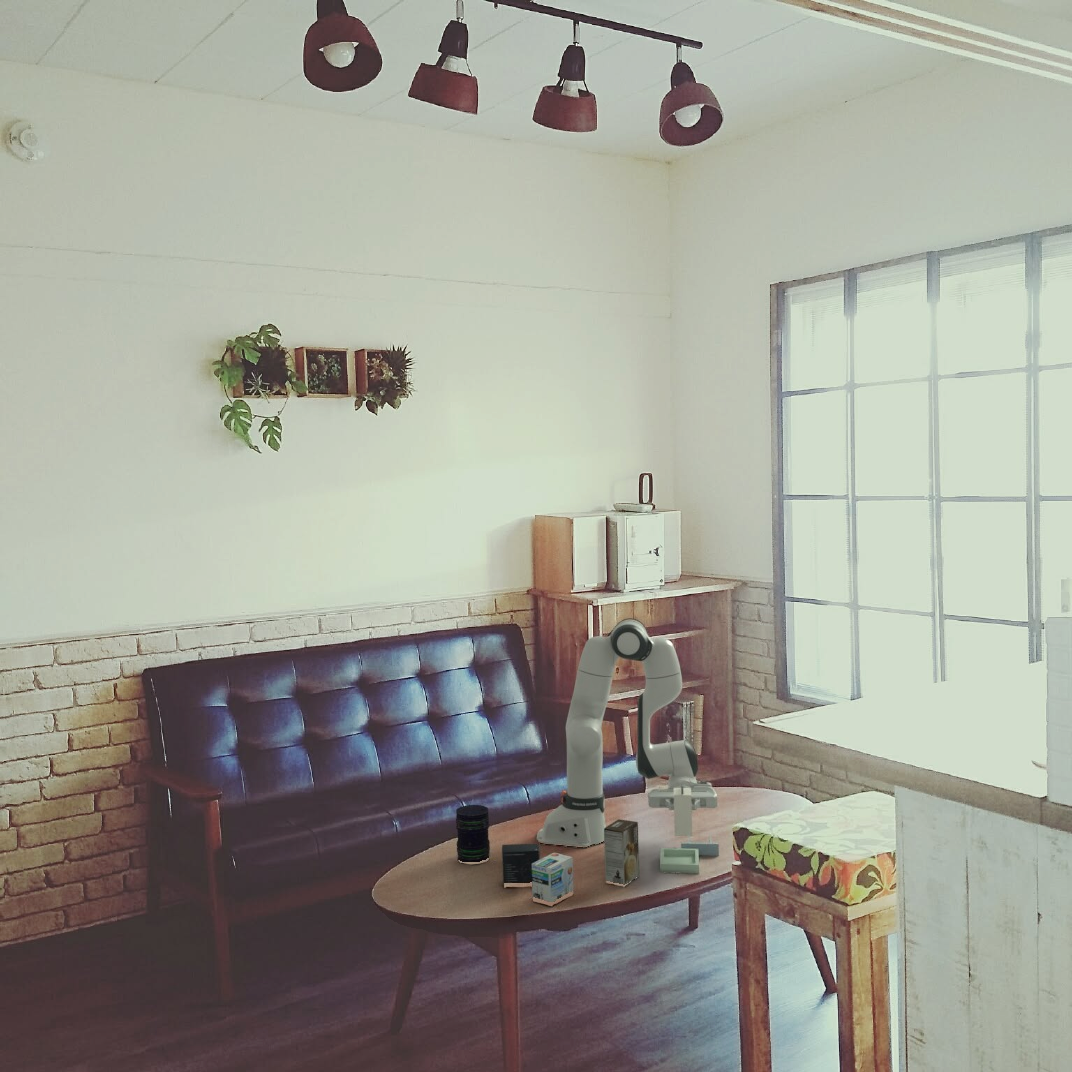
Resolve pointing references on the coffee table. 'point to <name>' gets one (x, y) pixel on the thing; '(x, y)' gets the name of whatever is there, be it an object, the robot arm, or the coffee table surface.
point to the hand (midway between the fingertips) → (682, 807)
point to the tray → (679, 860)
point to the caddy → (682, 811)
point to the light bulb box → (552, 877)
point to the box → (519, 862)
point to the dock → (702, 847)
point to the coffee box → (621, 851)
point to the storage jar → (472, 833)
